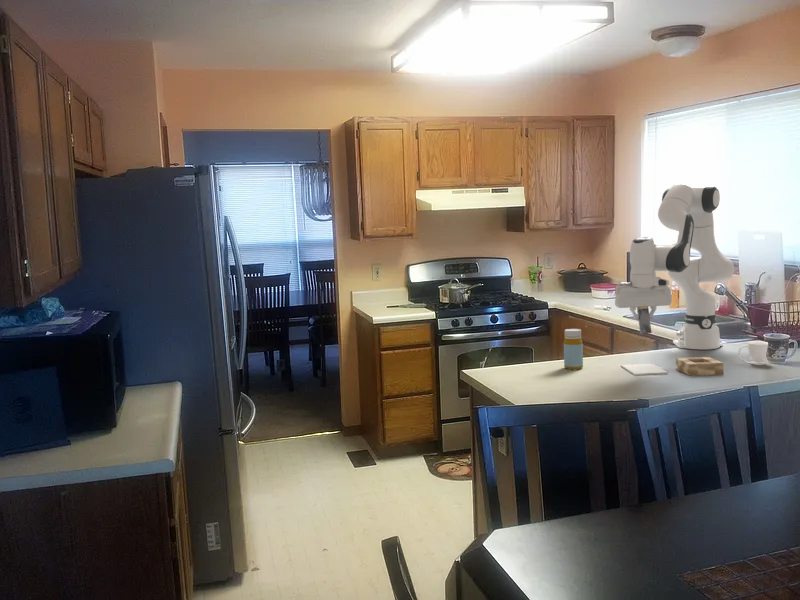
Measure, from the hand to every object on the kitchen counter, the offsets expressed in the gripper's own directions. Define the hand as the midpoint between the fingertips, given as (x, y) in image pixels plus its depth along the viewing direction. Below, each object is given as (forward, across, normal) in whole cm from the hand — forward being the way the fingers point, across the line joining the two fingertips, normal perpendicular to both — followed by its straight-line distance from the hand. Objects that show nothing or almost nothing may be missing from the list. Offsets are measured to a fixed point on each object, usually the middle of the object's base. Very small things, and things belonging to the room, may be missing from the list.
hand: (643, 318), depth 249 cm
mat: (+19, 0, 0) cm, 19 cm away
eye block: (+19, +18, -7) cm, 27 cm away
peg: (+5, 0, -1) cm, 5 cm away
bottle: (+20, -23, +11) cm, 32 cm away
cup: (+20, +42, 0) cm, 46 cm away
